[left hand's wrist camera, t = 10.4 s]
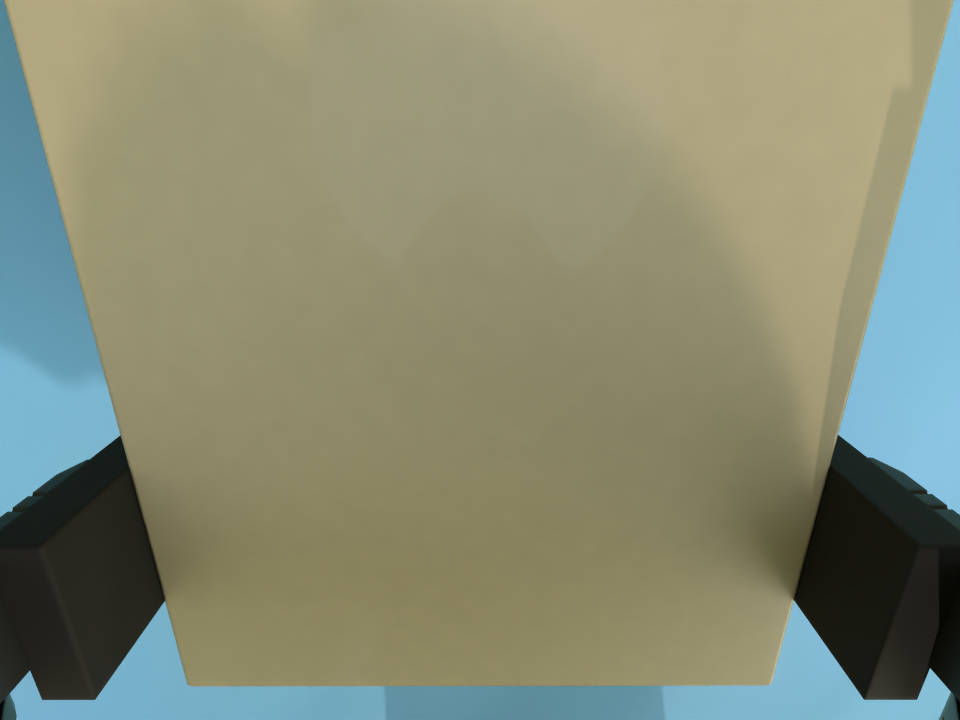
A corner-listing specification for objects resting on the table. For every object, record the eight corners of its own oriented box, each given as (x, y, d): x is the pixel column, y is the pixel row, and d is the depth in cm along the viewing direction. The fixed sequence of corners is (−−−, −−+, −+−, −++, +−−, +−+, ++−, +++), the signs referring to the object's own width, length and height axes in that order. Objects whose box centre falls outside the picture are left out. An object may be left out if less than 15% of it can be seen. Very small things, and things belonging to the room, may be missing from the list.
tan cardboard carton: (239, -345, 12) (-532, -1963, 3) (717, -345, 12) (1480, -1949, 3) (327, 430, 19) (185, 689, 10) (630, 430, 19) (772, 687, 10)
